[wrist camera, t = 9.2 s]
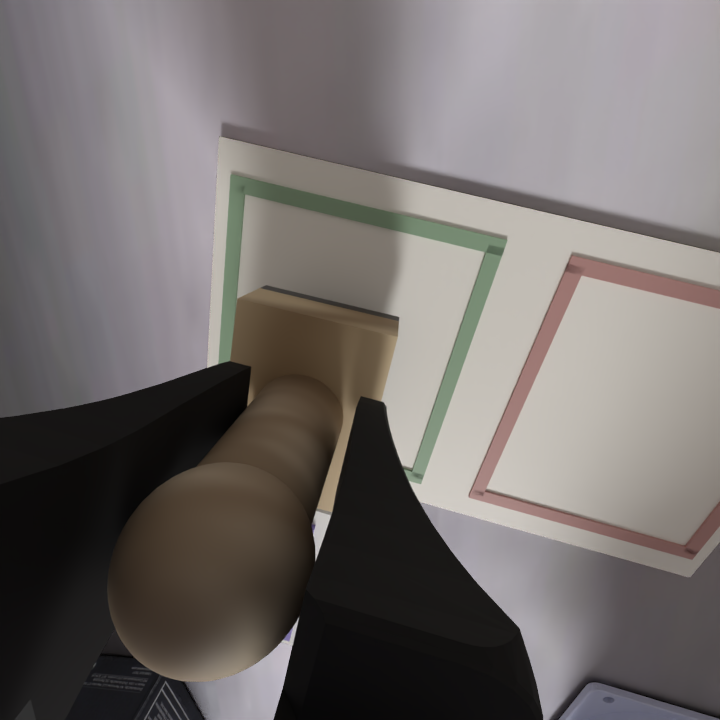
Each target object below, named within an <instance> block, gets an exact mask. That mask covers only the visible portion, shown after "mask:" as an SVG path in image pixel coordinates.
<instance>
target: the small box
mask: <svg viewBox="0 0 720 720" xmlns="http://www.w3.org/2000/svg"><path fill="white" fill-rule="evenodd" d="M65 720H203V718H202V716H201V714H200V713H199V711H198V709H197V707H196V706H195V704H194V702H193V700H192V699H191V697H190V695H189V693H188V692H187V690H186V688H185V686H184V684H183V682H182V681H180V680H175V679H171V678H168V677H165V676H162V675H160V674H158V673H156V672H154V671H152V670H150V669H149V668H147V667H146V666H144V665H143V664H142V663H140V662H139V661H138V660H137V659H136V658H126V657H115V656H102V655H100V656H99V657H98V659H97V661H96V663H95V664H94V666H93V668H92V670H91V672H90V673H89V675H88V677H87V679H86V681H85V683H84V685H83V687H82V688H81V690H80V692H79V694H78V696H77V698H76V700H75V702H74V704H73V705H72V707H71V709H70V711H69V713H68V715H67V717H66V719H65Z"/></svg>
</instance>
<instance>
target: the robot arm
mask: <svg viewBox="0 0 720 720" xmlns="http://www.w3.org/2000/svg"><path fill="white" fill-rule="evenodd" d="M250 375H251V367H250V366H247V365H243V364H239V363H235V362H232V361H228V362H224V363H220V364H217V365H214V366H211V367H208V368H205V369H202V370H199V371H197V372H194V373H191V374H188V375H185V376H182V377H179V378H177V379H174V380H171V381H168V382H165V383H162V384H159V385H155V386H152V387H149V388H145V389H142V390H139V391H135V392H132V393H129V394H125V395H122V396H118V397H114V398H110V399H106V400H102V401H98V402H93V403H89V404H84V405H79V406H75V407H69V408H64V409H58V410H51V411H45V412H39V413H32V414H26V415H20V416H13V417H5V418H0V720H65V719H66V717H67V715H68V713H69V711H70V709H71V707H72V705H73V704H74V702H75V700H76V698H77V696H78V694H79V692H80V690H81V688H82V687H83V685H84V683H85V681H86V679H87V677H88V675H89V673H90V672H91V670H92V668H93V666H94V664H95V663H96V661H97V659H98V657H99V656H100V654H101V652H102V650H103V648H104V647H105V645H106V643H107V641H108V639H109V638H110V636H111V634H112V632H113V631H114V629H115V626H114V623H113V621H112V618H111V614H110V610H109V603H108V593H107V586H108V572H109V566H110V562H111V557H112V554H113V550H114V548H115V545H116V543H117V540H118V538H119V536H120V534H121V531H122V529H123V528H124V526H125V524H126V523H127V521H128V519H129V518H130V516H131V515H132V514H133V512H134V511H135V510H136V509H137V507H138V506H139V505H140V504H141V502H142V501H143V500H144V499H145V498H146V497H148V496H149V495H150V494H151V493H152V492H153V491H154V490H155V489H156V488H157V487H159V486H160V485H162V484H163V483H165V482H166V481H168V480H169V479H171V478H172V477H174V476H176V475H178V474H180V473H182V472H184V471H187V470H189V469H191V468H195V467H197V465H198V464H199V463H200V462H201V461H202V459H203V458H204V457H205V456H206V455H207V454H208V452H209V451H210V450H211V449H212V448H213V447H214V445H215V444H216V443H217V442H218V441H219V440H220V438H221V437H222V436H223V435H224V434H225V432H226V431H227V430H228V429H229V428H230V427H231V425H232V424H233V423H234V422H235V421H236V420H237V418H238V417H239V416H240V415H241V414H242V412H243V411H244V410H245V409H246V408H247V404H248V394H249V385H250ZM274 720H543V714H542V709H541V704H540V699H539V694H538V689H537V685H536V681H535V677H534V674H533V670H532V667H531V663H530V660H529V657H528V654H527V651H526V647H525V644H524V641H523V638H522V635H521V632H520V629H519V627H518V626H517V625H516V624H515V623H514V622H513V621H512V620H511V619H510V618H509V617H508V616H507V615H506V614H505V613H504V611H503V610H502V609H501V608H500V607H499V606H498V605H497V604H496V603H495V602H494V601H493V600H492V599H491V598H490V597H489V596H488V594H487V593H486V592H485V591H484V590H483V589H482V588H481V587H480V586H479V585H478V584H477V582H476V581H475V580H474V579H473V578H472V577H471V575H470V574H469V573H468V572H467V570H466V569H465V568H464V567H463V565H462V564H461V563H460V562H459V561H458V559H457V558H456V557H455V556H454V554H453V553H452V552H451V550H450V549H449V547H448V546H447V544H446V543H445V542H444V540H443V539H442V537H441V536H440V534H439V533H438V532H437V530H436V529H435V527H434V526H433V524H432V523H431V521H430V519H429V518H428V516H427V514H426V513H425V511H424V509H423V508H422V506H421V504H420V502H419V500H418V498H417V497H416V495H415V493H414V491H413V489H412V487H411V485H410V483H409V480H408V478H407V476H406V473H405V471H404V469H403V466H402V464H401V461H400V459H399V456H398V453H397V450H396V447H395V444H394V441H393V438H392V434H391V431H390V427H389V422H388V417H387V407H386V405H385V404H384V402H381V401H378V400H374V399H370V398H366V397H363V396H361V397H360V399H359V401H358V404H357V407H356V410H355V415H354V419H353V423H352V427H351V431H350V435H349V440H348V444H347V448H346V452H345V456H344V460H343V465H342V469H341V473H340V477H339V481H338V485H337V489H336V495H335V500H334V505H333V511H332V514H331V517H330V520H329V523H328V526H327V529H326V532H325V535H324V538H323V541H322V544H321V547H320V550H319V553H318V556H317V558H316V561H315V564H314V567H313V570H312V573H311V576H310V578H309V581H308V584H307V587H306V590H305V594H304V598H303V603H302V607H301V611H300V616H299V620H298V625H297V629H296V633H295V638H294V642H293V646H292V651H291V655H290V659H289V664H288V668H287V673H286V677H285V681H284V686H283V690H282V693H281V696H280V700H279V703H278V707H277V710H276V713H275V717H274ZM559 720H720V719H718V718H715V717H711V716H708V715H705V714H701V713H698V712H695V711H691V710H688V709H685V708H681V707H678V706H675V705H671V704H668V703H665V702H661V701H658V700H655V699H651V698H648V697H645V696H641V695H638V694H635V693H631V692H628V691H625V690H621V689H618V688H615V687H611V686H608V685H605V684H601V683H597V682H592V683H589V684H587V685H586V686H585V688H584V689H583V690H582V691H581V692H580V694H579V695H578V696H577V697H576V699H575V700H574V701H573V702H572V704H571V705H570V706H569V707H568V709H567V710H566V711H565V712H564V714H563V715H562V716H561V717H560V718H559Z"/></svg>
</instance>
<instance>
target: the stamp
mask: <svg viewBox="0 0 720 720" xmlns="http://www.w3.org/2000/svg"><path fill="white" fill-rule="evenodd" d="M398 328H399V317H398V316H393V315H389V314H385V313H381V312H377V311H372V310H368V309H364V308H360V307H356V306H351V305H347V304H343V303H339V302H335V301H330V300H326V299H322V298H318V297H314V296H310V295H305V294H301V293H297V292H293V291H289V290H284V289H280V288H276V287H272V286H268V285H265V286H263V287H261V288H259V289H257V290H254V291H252V292H250V293H248V294H246V295H244V296H242V297H239V298H237V305H236V314H235V322H234V331H233V339H232V348H231V357H230V361H232V362H235V363H239V364H243V365H247V366H250V367H251V375H250V385H249V394H248V404H247V408H246V409H245V410H244V411H243V412H242V414H241V415H240V416H239V417H238V418H237V420H236V421H235V422H234V423H233V424H232V425H231V427H230V428H229V429H228V430H227V431H226V432H225V434H224V435H223V436H222V437H221V438H220V440H219V441H218V442H217V443H216V444H215V445H214V447H213V448H212V449H211V450H210V451H209V452H208V454H207V455H206V456H205V457H204V458H203V459H202V461H201V462H200V463H199V464H198V465H197V467H195V468H191V469H189V470H187V471H184V472H182V473H180V474H178V475H176V476H174V477H172V478H171V479H169V480H168V481H166V482H165V483H163V484H162V485H160V486H159V487H157V488H156V489H155V490H154V491H153V492H152V493H151V494H150V495H149V496H148V497H146V498H145V499H144V500H143V501H142V502H141V504H140V505H139V506H138V507H137V509H136V510H135V511H134V512H133V514H132V515H131V516H130V518H129V519H128V521H127V523H126V524H125V526H124V528H123V529H122V531H121V534H120V536H119V538H118V540H117V543H116V545H115V548H114V550H113V554H112V557H111V562H110V566H109V572H108V586H107V593H108V603H109V610H110V614H111V618H112V621H113V623H114V626H115V628H116V631H117V633H118V635H119V637H120V639H121V641H122V642H123V644H124V645H125V646H126V648H127V649H128V650H129V651H130V653H131V654H132V655H133V656H134V657H135V658H136V659H137V660H138V661H139V662H140V663H142V664H143V665H144V666H146V667H147V668H149V669H150V670H152V671H154V672H156V673H158V674H160V675H162V676H165V677H168V678H171V679H175V680H180V681H189V682H204V681H213V680H218V679H221V678H225V677H228V676H232V675H234V674H237V673H239V672H241V671H243V670H245V669H247V668H249V667H251V666H253V665H254V664H256V663H257V662H259V661H260V660H261V659H263V658H264V657H265V656H267V655H268V654H269V653H270V652H271V651H273V650H274V649H275V648H276V647H277V646H278V645H279V644H280V643H281V642H282V641H283V639H284V638H285V637H286V636H287V634H288V633H289V632H290V630H291V629H292V628H293V626H294V625H295V623H296V622H297V620H298V618H299V616H300V611H301V607H302V603H303V598H304V594H305V590H306V587H307V584H308V581H309V578H310V576H311V573H312V570H313V567H314V564H315V542H314V536H313V530H312V527H311V526H312V523H313V520H314V516H315V513H316V510H317V508H318V509H322V510H326V511H330V512H332V511H333V505H334V500H335V495H336V489H337V485H338V481H339V477H340V473H341V469H342V465H343V460H344V456H345V452H346V448H347V444H348V440H349V435H350V431H351V427H352V423H353V419H354V415H355V410H356V407H357V404H358V401H359V399H360V397H361V396H363V397H366V398H370V399H374V400H378V401H381V400H382V396H383V392H384V388H385V385H386V381H387V377H388V373H389V369H390V365H391V361H392V358H393V354H394V350H395V346H396V342H397V338H398Z"/></svg>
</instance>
